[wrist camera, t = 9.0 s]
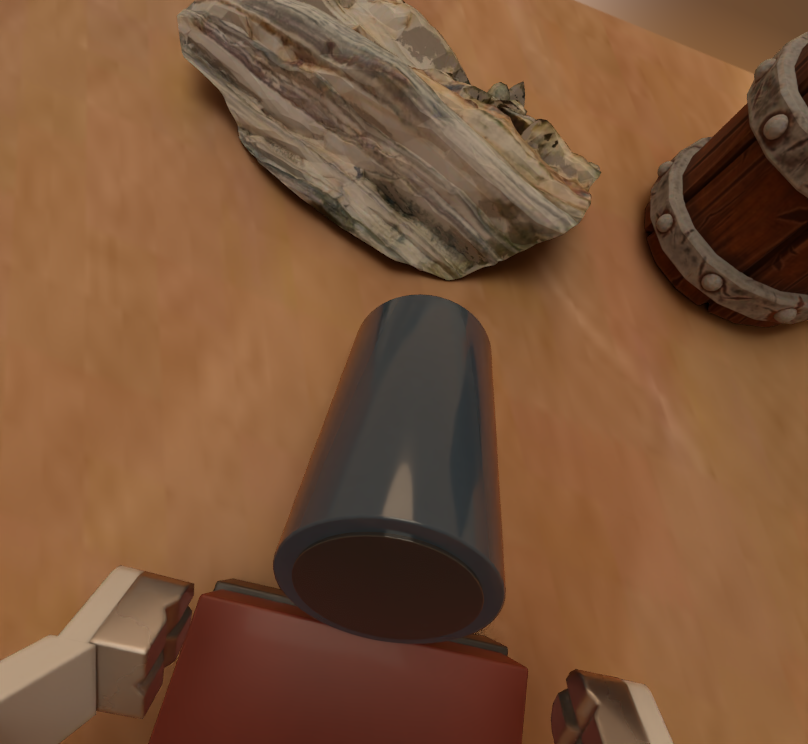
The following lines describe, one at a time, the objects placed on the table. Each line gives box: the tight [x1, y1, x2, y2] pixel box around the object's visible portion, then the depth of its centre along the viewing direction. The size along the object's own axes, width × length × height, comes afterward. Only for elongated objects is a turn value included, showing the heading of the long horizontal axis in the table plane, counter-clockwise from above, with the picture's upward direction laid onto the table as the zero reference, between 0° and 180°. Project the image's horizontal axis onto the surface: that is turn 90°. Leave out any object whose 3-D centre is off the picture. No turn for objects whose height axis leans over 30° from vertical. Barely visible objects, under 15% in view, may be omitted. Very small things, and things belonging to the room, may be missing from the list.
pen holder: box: [273, 295, 506, 644], centre depth 15 cm, size 6×6×10 cm
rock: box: [177, 0, 601, 280], centre depth 24 cm, size 23×7×15 cm
